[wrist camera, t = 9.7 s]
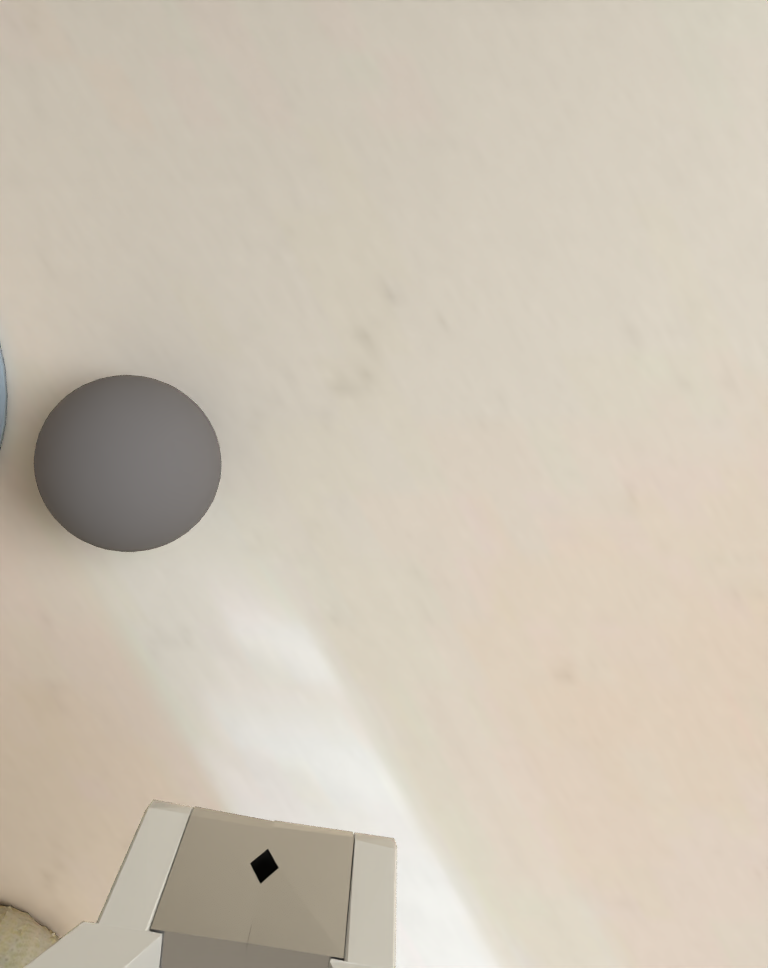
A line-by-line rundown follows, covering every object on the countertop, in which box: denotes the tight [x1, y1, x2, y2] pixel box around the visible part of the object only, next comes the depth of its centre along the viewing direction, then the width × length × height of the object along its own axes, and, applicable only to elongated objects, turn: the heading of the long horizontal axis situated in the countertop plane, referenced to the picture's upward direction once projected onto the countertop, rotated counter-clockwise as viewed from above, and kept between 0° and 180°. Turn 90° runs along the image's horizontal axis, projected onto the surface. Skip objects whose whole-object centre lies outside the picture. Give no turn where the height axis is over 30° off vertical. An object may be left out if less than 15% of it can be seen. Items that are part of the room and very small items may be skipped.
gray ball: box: [34, 375, 221, 552], centre depth 21 cm, size 5×5×5 cm
